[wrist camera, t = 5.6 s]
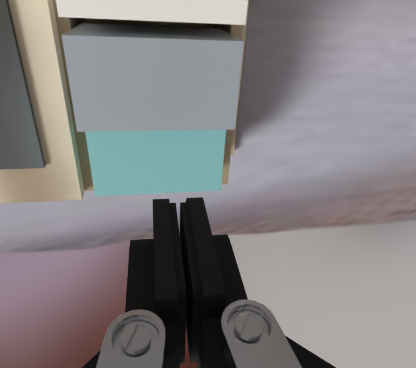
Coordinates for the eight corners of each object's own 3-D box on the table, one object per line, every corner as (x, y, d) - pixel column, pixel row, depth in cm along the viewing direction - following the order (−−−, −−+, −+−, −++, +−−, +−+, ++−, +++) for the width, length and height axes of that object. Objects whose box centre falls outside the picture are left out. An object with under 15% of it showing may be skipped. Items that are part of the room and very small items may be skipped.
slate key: (219, 28, 17) (244, 41, 13) (215, 98, 19) (235, 129, 15) (82, 22, 16) (61, 35, 12) (92, 98, 18) (77, 131, 14)
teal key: (209, 100, 21) (226, 128, 17) (206, 153, 23) (220, 190, 19) (97, 100, 20) (85, 130, 16) (104, 156, 22) (94, 196, 18)
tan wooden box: (254, -82, 19) (300, -110, 13) (232, 151, 26) (255, 193, 21) (-62, -115, 16) (-166, -167, 10) (14, 157, 23) (-24, 207, 18)
